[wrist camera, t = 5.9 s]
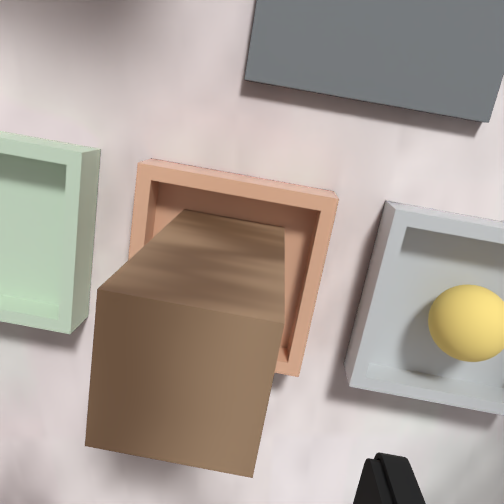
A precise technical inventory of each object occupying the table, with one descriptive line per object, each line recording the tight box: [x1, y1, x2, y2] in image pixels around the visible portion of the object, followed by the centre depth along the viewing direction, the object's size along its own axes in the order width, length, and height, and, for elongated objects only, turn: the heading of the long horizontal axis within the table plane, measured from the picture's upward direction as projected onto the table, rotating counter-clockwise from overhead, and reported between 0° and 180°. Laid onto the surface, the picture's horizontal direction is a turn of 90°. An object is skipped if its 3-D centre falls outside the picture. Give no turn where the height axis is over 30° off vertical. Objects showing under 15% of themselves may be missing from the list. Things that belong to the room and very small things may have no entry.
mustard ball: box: [428, 285, 504, 362], centre depth 20 cm, size 3×3×3 cm
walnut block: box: [85, 209, 285, 478], centre depth 16 cm, size 4×4×10 cm
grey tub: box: [344, 201, 504, 415], centre depth 21 cm, size 8×8×2 cm
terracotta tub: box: [128, 158, 339, 377], centre depth 21 cm, size 8×8×2 cm
